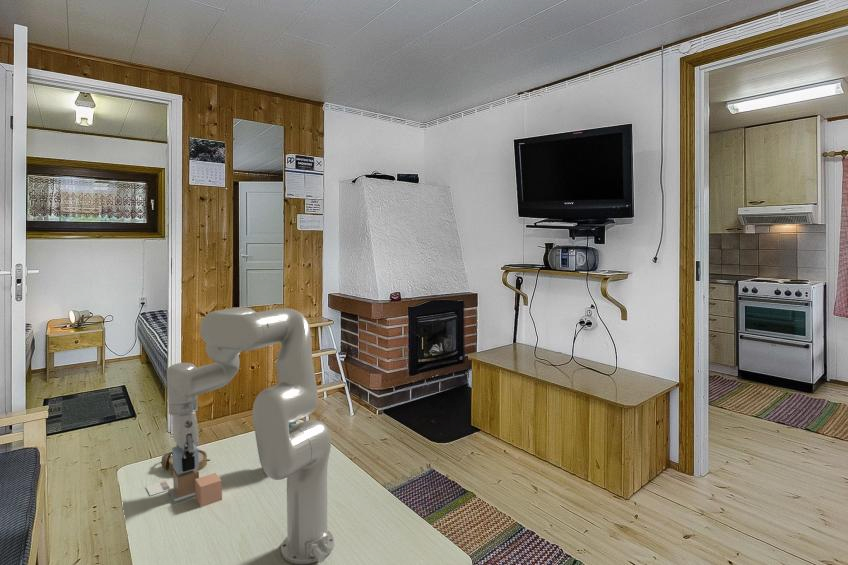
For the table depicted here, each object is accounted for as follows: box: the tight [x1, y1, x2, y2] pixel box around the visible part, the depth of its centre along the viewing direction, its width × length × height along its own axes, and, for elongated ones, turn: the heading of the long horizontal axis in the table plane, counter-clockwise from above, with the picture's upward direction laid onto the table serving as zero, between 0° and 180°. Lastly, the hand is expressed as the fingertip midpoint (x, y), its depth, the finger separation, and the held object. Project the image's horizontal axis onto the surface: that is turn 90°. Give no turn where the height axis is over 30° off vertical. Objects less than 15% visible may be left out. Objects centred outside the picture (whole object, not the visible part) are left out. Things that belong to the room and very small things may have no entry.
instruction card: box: [145, 478, 174, 497], centre depth 141 cm, size 6×9×1 cm, turn 131°
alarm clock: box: [159, 448, 211, 474], centre depth 153 cm, size 11×5×15 cm
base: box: [167, 469, 200, 505], centre depth 137 cm, size 8×8×7 cm
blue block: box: [171, 443, 199, 475], centre depth 136 cm, size 6×6×6 cm
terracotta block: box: [195, 472, 223, 508], centre depth 134 cm, size 6×6×6 cm
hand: (185, 465), depth 136 cm, fingers closed on blue block, 5 cm apart
